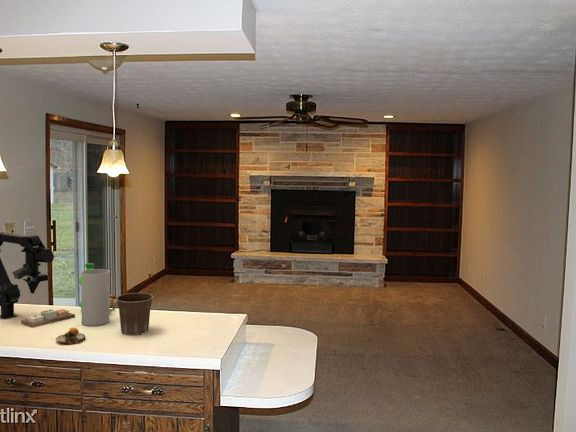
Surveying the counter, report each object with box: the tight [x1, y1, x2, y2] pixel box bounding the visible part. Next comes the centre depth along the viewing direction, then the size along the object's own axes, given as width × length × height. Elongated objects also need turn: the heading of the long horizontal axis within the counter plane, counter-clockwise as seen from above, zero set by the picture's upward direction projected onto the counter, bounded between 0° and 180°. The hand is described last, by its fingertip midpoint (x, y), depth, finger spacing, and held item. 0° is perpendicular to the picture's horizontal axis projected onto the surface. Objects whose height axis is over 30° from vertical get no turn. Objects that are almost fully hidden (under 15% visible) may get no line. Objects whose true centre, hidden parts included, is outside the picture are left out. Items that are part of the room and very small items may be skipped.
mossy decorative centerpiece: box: [55, 325, 86, 346], centre depth 214 cm, size 12×12×8 cm
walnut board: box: [20, 312, 76, 329], centre depth 242 cm, size 10×21×2 cm, turn 146°
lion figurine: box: [109, 297, 116, 315], centre depth 259 cm, size 15×5×9 cm, turn 10°
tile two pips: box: [40, 308, 57, 320], centre depth 242 cm, size 5×5×3 cm
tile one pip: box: [27, 314, 44, 323], centre depth 236 cm, size 5×5×3 cm
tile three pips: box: [55, 308, 70, 317], centre depth 247 cm, size 5×5×3 cm
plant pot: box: [115, 292, 154, 336], centre depth 229 cm, size 16×16×16 cm
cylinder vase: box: [80, 268, 110, 327], centre depth 240 cm, size 12×12×25 cm
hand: (32, 293), depth 241 cm, fingers closed
